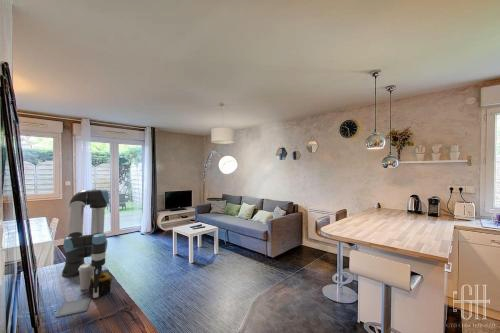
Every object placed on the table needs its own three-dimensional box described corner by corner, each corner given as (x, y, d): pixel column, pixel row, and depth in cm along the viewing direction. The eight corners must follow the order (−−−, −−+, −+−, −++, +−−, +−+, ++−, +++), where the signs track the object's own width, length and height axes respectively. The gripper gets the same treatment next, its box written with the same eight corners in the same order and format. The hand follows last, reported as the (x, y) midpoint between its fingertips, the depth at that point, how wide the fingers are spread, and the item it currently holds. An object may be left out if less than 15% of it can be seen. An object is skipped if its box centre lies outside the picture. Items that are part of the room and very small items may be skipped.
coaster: (62, 303, 136) (62, 302, 136) (90, 298, 142) (90, 297, 142) (55, 318, 123) (55, 316, 123) (86, 311, 130) (86, 310, 130)
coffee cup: (85, 291, 149) (86, 269, 149) (73, 289, 151) (74, 267, 151) (98, 284, 159) (98, 263, 159) (86, 282, 161) (87, 261, 161)
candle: (92, 298, 140) (93, 282, 140) (88, 291, 147) (89, 276, 147) (110, 293, 148) (112, 277, 148) (105, 286, 154) (107, 271, 155)
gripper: (94, 252, 155) (93, 284, 155) (88, 267, 134) (86, 303, 134) (107, 251, 159) (106, 282, 159) (103, 265, 137) (101, 300, 137)
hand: (97, 292), depth 146 cm, fingers closed on candle, 12 cm apart
